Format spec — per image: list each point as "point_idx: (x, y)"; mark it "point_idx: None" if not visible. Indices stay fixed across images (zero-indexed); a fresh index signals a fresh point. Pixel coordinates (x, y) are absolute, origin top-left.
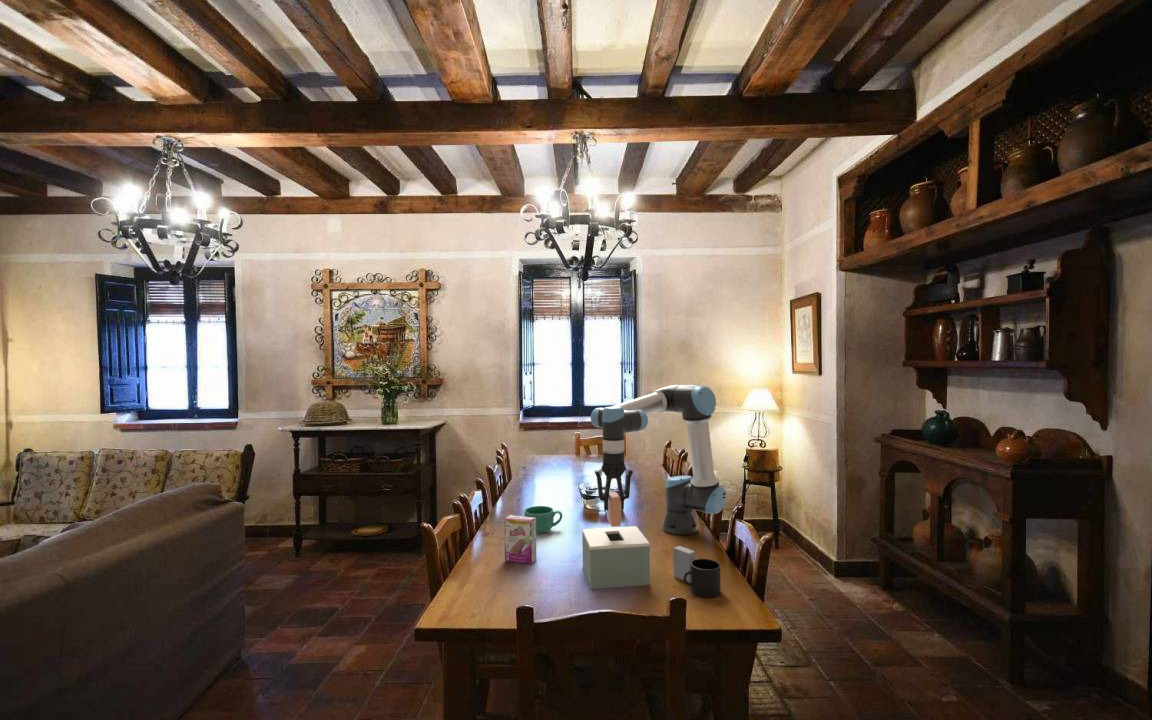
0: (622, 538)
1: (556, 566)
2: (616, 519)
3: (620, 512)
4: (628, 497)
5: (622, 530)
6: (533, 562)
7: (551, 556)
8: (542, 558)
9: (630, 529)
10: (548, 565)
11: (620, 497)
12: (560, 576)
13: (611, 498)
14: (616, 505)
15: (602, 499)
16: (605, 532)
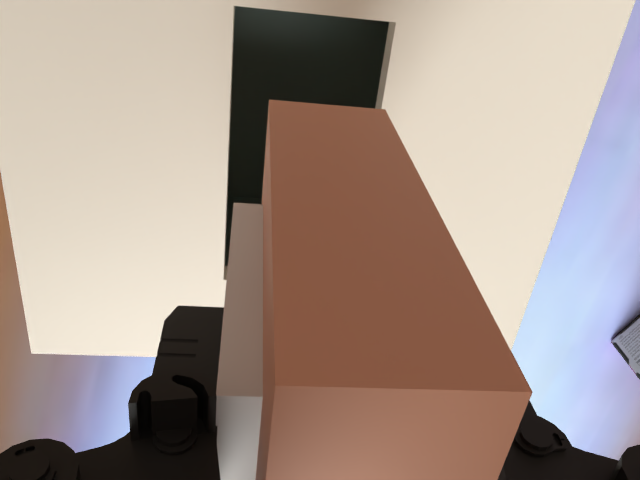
0: (230, 113)
1: (551, 260)
2: (333, 138)
3: (240, 258)
4: (10, 461)
5: (184, 281)
6: (638, 318)
7: (523, 370)
8: (572, 357)
9: (102, 290)
10: (583, 279)
11: (218, 473)
12: (589, 134)
13: (511, 387)
14: (360, 256)
15: (626, 449)
16: None
